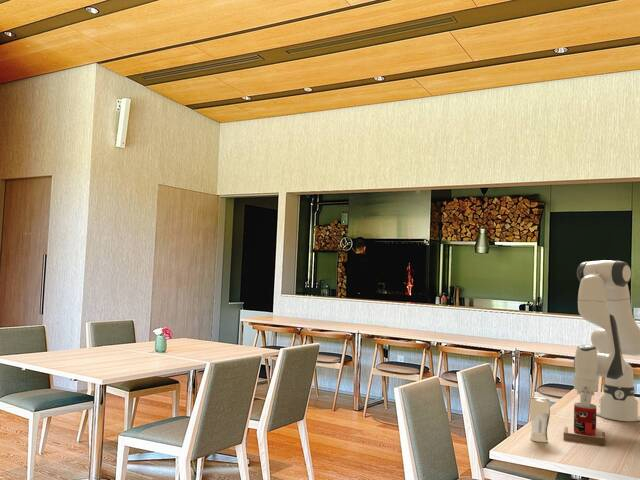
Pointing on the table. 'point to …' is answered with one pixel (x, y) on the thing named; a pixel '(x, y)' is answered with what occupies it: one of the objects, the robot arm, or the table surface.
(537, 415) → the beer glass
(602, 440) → the open wooden square
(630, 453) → the table surface
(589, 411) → the canned food
